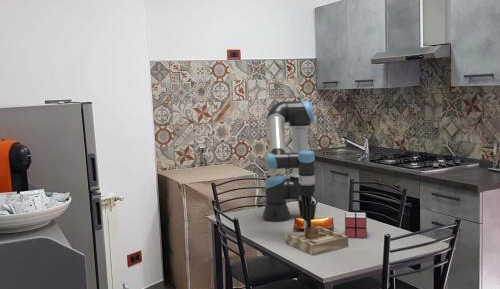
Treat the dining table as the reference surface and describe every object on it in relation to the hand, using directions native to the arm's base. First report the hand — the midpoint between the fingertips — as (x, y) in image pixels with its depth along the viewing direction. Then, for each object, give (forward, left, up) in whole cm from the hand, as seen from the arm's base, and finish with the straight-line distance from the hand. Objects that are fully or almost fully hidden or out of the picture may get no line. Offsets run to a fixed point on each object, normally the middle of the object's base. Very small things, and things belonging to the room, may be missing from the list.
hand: (307, 233), depth 237 cm
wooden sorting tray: (+6, 0, -4) cm, 7 cm away
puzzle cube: (+6, +25, -4) cm, 26 cm away
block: (+3, 0, -1) cm, 3 cm away
